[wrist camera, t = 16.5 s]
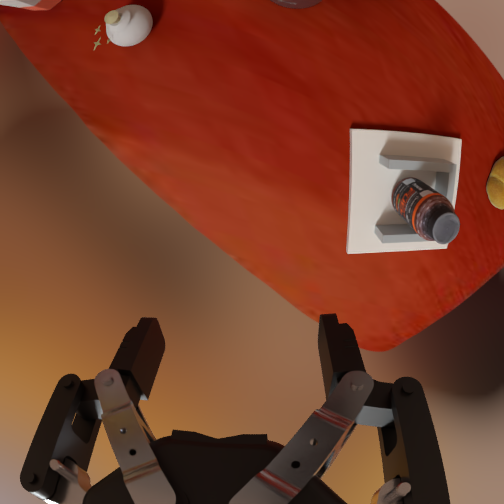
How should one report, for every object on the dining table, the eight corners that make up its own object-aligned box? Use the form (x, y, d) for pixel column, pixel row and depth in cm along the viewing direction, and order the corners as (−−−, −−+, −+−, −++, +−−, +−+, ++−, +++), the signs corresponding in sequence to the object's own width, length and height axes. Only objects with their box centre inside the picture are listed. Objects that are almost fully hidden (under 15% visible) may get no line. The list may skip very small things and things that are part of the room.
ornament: (167, 17, 28) (138, -4, 19) (139, 63, 31) (103, 55, 22) (133, 6, 27) (98, -13, 18) (107, 50, 30) (67, 42, 21)
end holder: (346, 250, 43) (353, 266, 39) (349, 128, 35) (360, 131, 31) (443, 245, 42) (456, 258, 38) (458, 138, 33) (475, 143, 29)
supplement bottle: (392, 173, 36) (432, 200, 26) (427, 178, 36) (471, 205, 26) (386, 214, 39) (420, 251, 29) (420, 216, 39) (459, 252, 29)
